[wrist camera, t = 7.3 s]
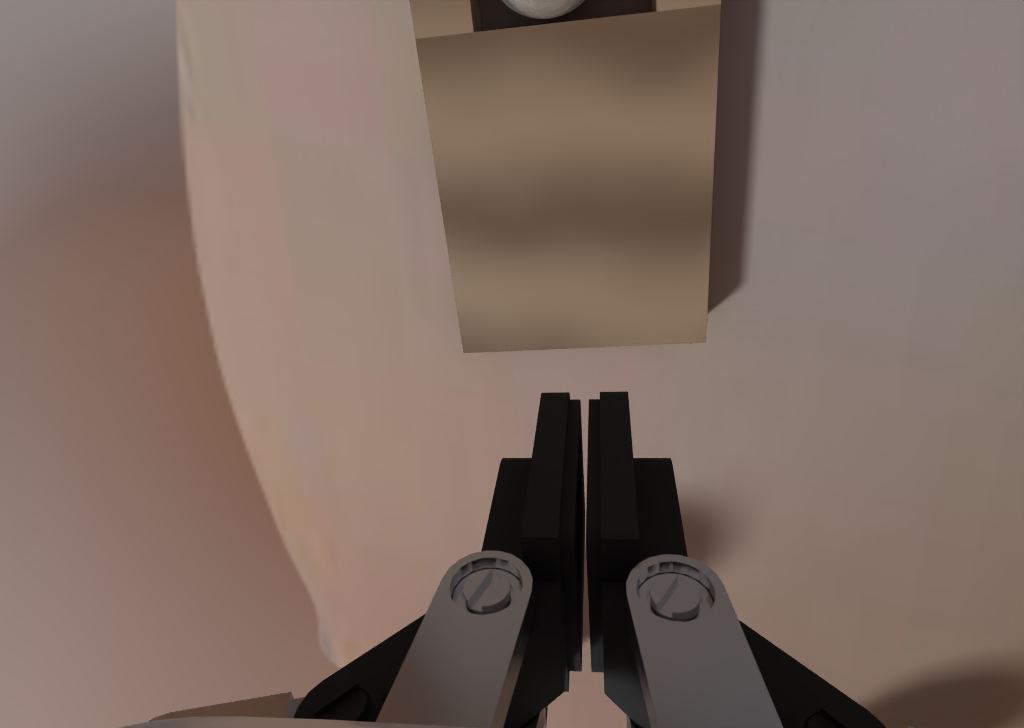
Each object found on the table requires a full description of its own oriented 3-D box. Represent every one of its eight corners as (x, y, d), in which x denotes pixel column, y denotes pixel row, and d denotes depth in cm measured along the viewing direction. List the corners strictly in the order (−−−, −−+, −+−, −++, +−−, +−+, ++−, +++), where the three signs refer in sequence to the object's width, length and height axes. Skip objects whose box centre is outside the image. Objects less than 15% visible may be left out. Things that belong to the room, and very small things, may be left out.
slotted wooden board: (386, -254, 20) (366, -280, 18) (722, -314, 18) (736, -348, 17) (471, 332, 29) (463, 352, 27) (698, 321, 28) (705, 342, 26)
